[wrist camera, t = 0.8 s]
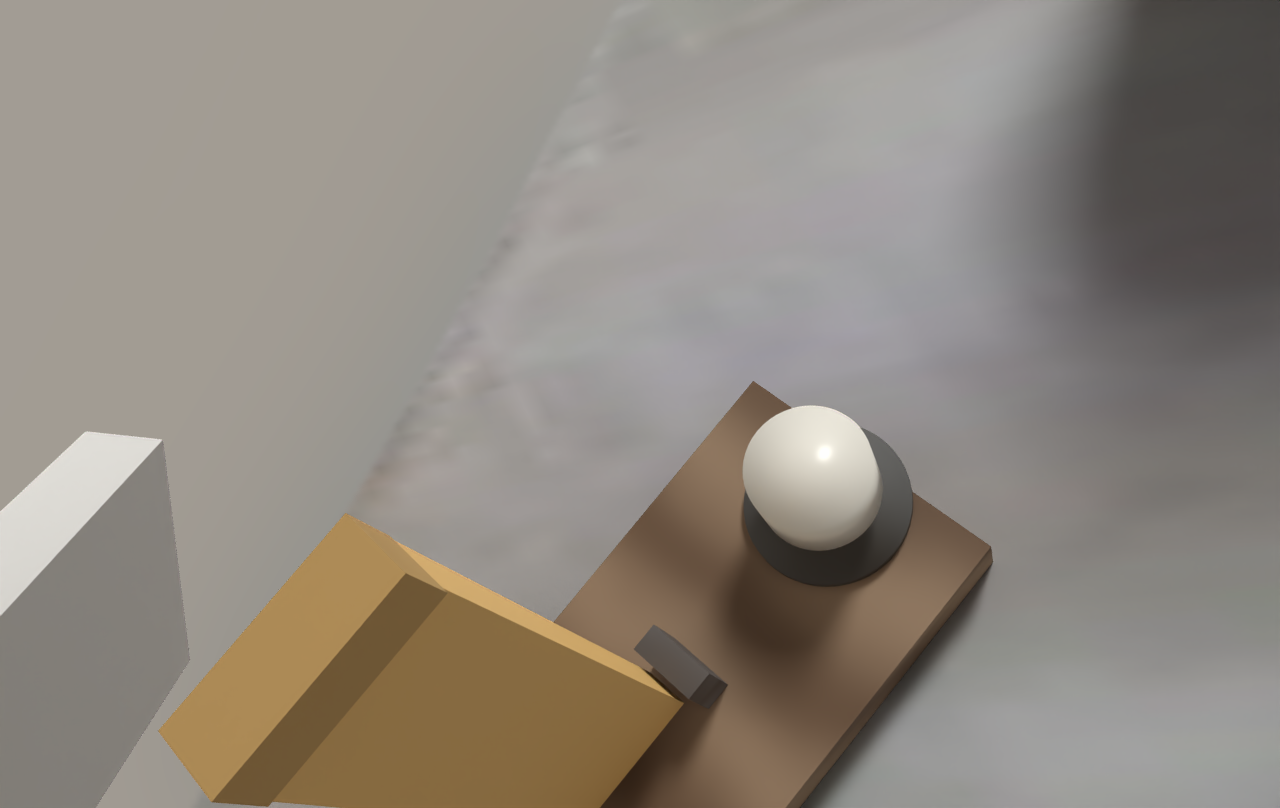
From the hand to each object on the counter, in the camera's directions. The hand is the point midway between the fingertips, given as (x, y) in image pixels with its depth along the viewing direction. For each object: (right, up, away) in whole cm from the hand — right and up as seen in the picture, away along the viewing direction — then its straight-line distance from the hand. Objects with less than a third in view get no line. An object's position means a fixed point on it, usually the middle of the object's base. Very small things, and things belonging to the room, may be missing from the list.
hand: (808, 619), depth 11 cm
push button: (+4, -1, +25) cm, 25 cm away
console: (-1, -10, +27) cm, 29 cm away
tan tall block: (-2, -9, +25) cm, 27 cm away
